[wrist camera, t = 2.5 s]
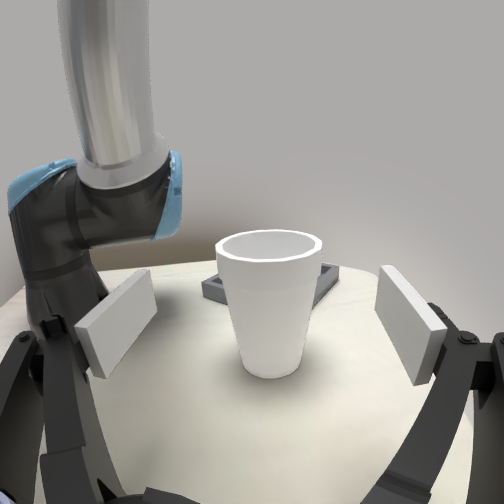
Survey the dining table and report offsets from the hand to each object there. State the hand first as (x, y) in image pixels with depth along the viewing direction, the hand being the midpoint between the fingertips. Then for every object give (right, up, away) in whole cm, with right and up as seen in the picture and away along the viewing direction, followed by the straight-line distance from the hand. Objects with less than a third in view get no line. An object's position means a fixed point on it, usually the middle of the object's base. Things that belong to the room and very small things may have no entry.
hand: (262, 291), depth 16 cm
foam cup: (+2, -10, +14) cm, 17 cm away
